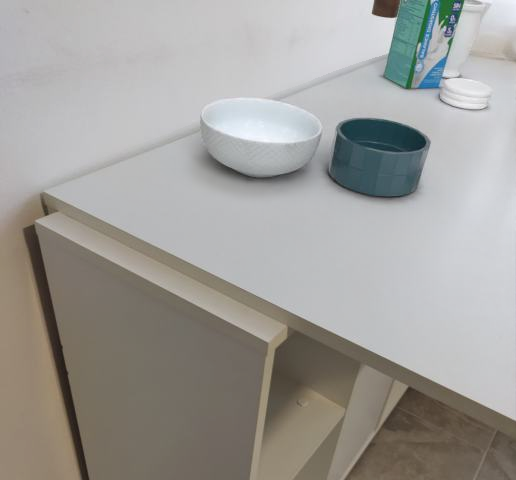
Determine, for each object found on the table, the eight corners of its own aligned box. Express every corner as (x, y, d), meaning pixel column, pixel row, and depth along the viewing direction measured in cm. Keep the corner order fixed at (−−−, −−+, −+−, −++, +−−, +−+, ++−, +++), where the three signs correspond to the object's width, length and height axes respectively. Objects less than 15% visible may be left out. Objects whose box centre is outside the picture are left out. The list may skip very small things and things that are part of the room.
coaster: (432, 101, 111) (437, 83, 109) (447, 91, 118) (452, 74, 115) (479, 114, 108) (486, 95, 105) (492, 103, 114) (498, 85, 112)
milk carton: (406, 89, 116) (443, -54, 99) (383, 76, 122) (414, -61, 105) (439, 87, 119) (480, -51, 103) (414, 75, 125) (450, -58, 109)
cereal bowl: (204, 191, 71) (205, 138, 66) (195, 142, 83) (196, 94, 78) (327, 193, 74) (336, 142, 69) (301, 146, 86) (308, 99, 81)
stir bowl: (421, 172, 83) (434, 129, 78) (411, 207, 73) (425, 161, 69) (338, 153, 85) (346, 111, 81) (318, 185, 75) (326, 140, 71)
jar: (461, 83, 124) (485, 8, 114) (417, 74, 126) (437, -1, 116) (465, 72, 132) (488, 1, 122) (423, 64, 134) (442, -7, 124)
